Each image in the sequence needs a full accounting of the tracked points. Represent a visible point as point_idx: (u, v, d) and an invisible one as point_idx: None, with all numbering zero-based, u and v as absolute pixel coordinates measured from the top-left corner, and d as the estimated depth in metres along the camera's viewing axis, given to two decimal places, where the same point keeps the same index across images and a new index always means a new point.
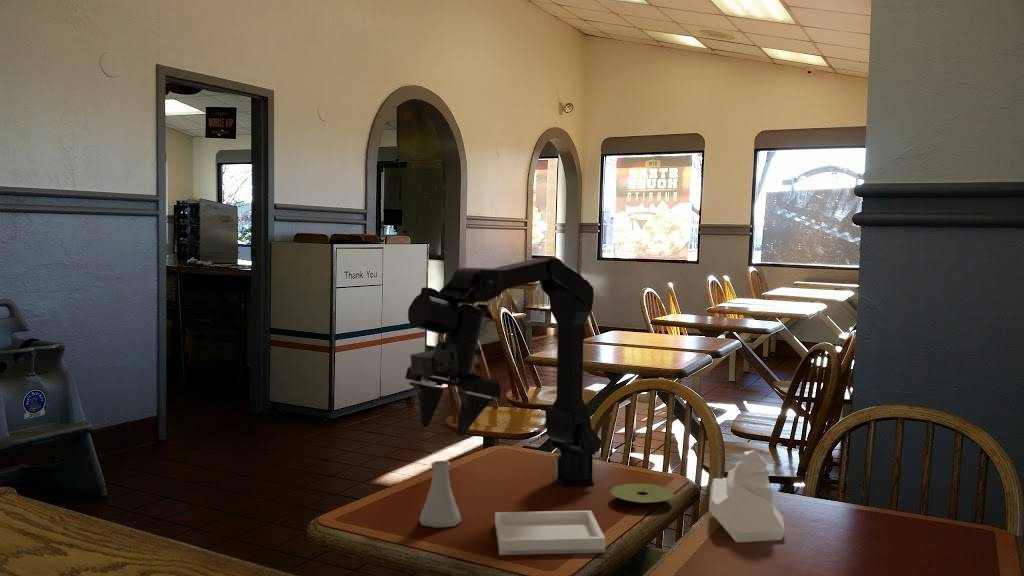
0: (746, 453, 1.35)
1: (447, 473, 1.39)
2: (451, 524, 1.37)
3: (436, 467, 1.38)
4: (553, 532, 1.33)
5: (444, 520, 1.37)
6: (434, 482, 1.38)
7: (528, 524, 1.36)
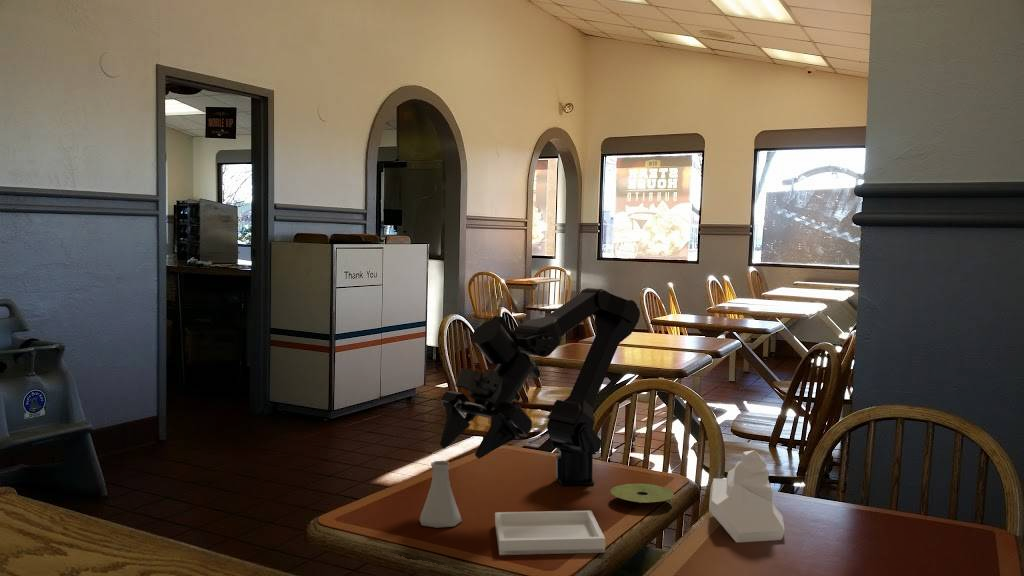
0: (746, 453, 1.35)
1: (447, 473, 1.39)
2: (451, 524, 1.37)
3: (436, 467, 1.38)
4: (553, 532, 1.33)
5: (444, 520, 1.37)
6: (434, 482, 1.38)
7: (528, 524, 1.36)
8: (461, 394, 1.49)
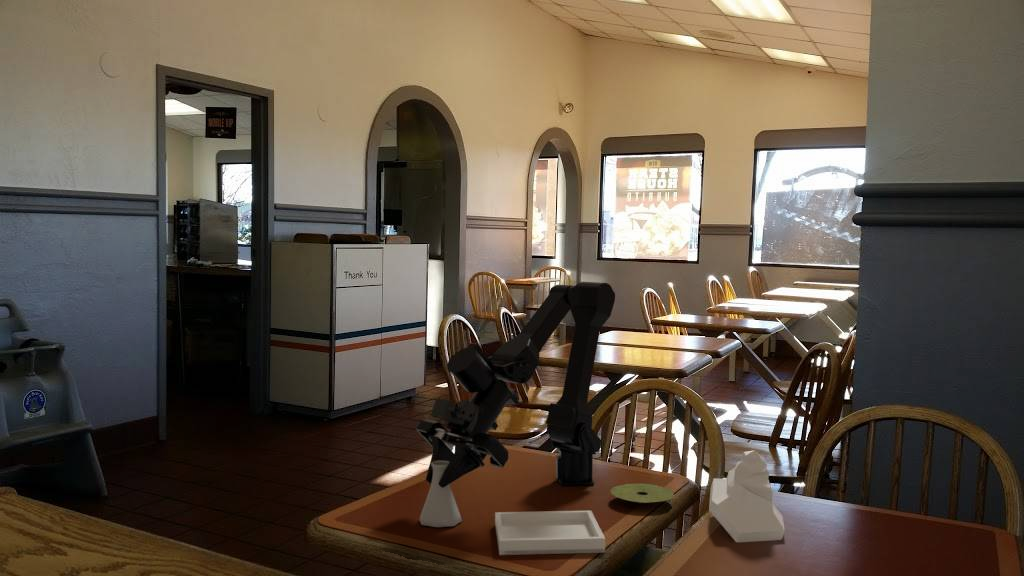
0: (746, 453, 1.35)
1: None
2: (451, 523, 1.37)
3: (436, 466, 1.38)
4: (553, 532, 1.33)
5: (444, 520, 1.37)
6: (434, 482, 1.38)
7: (528, 524, 1.36)
8: (437, 423, 1.45)
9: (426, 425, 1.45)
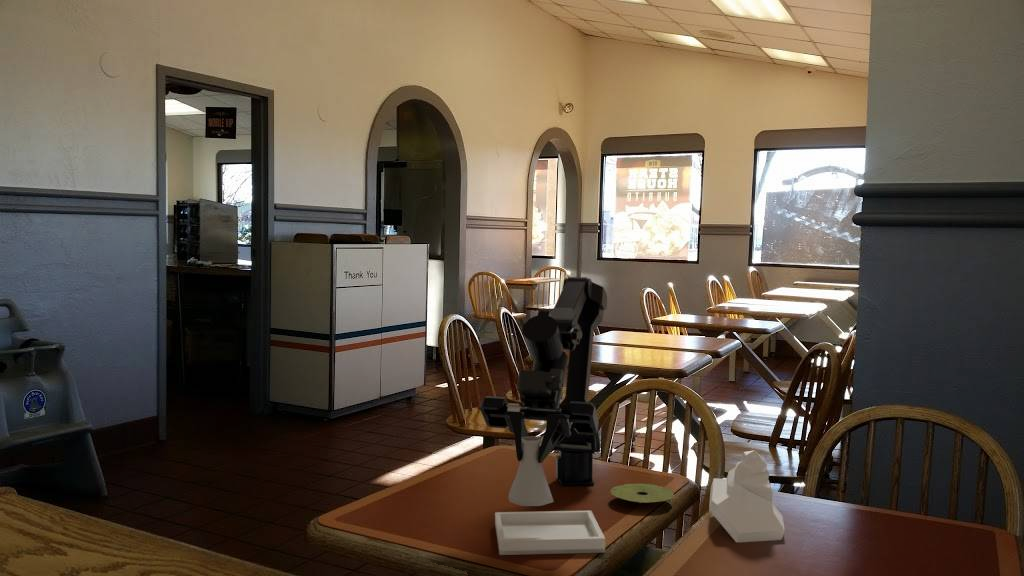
0: (746, 453, 1.35)
1: None
2: (550, 500, 1.30)
3: (532, 442, 1.30)
4: (553, 532, 1.33)
5: (545, 497, 1.29)
6: (529, 459, 1.30)
7: (528, 524, 1.36)
8: (505, 398, 1.36)
9: (495, 402, 1.35)
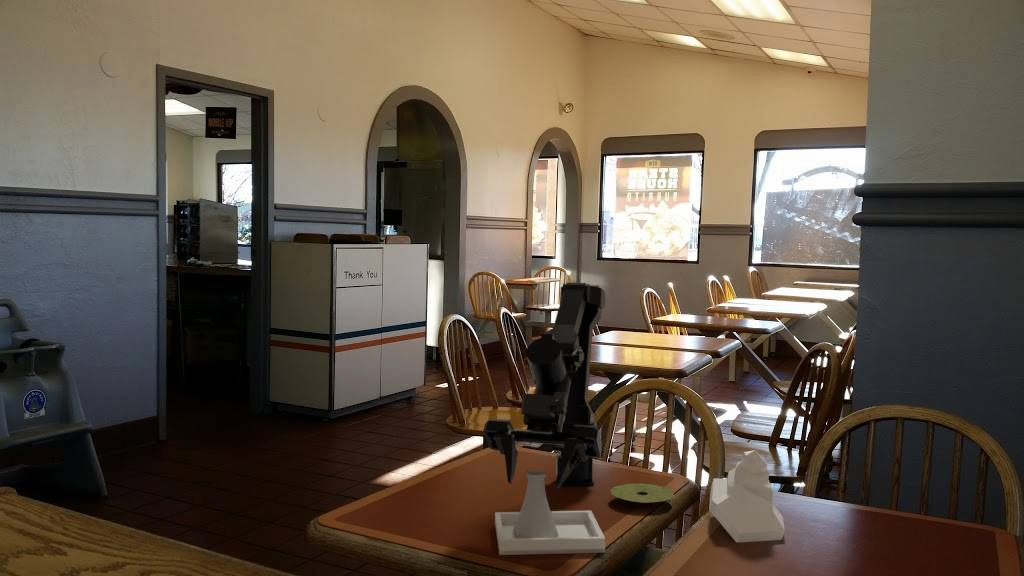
0: (746, 453, 1.35)
1: (543, 482, 1.31)
2: (555, 534, 1.30)
3: (537, 477, 1.30)
4: None
5: (550, 531, 1.29)
6: (534, 493, 1.30)
7: None
8: (508, 421, 1.36)
9: (498, 425, 1.35)
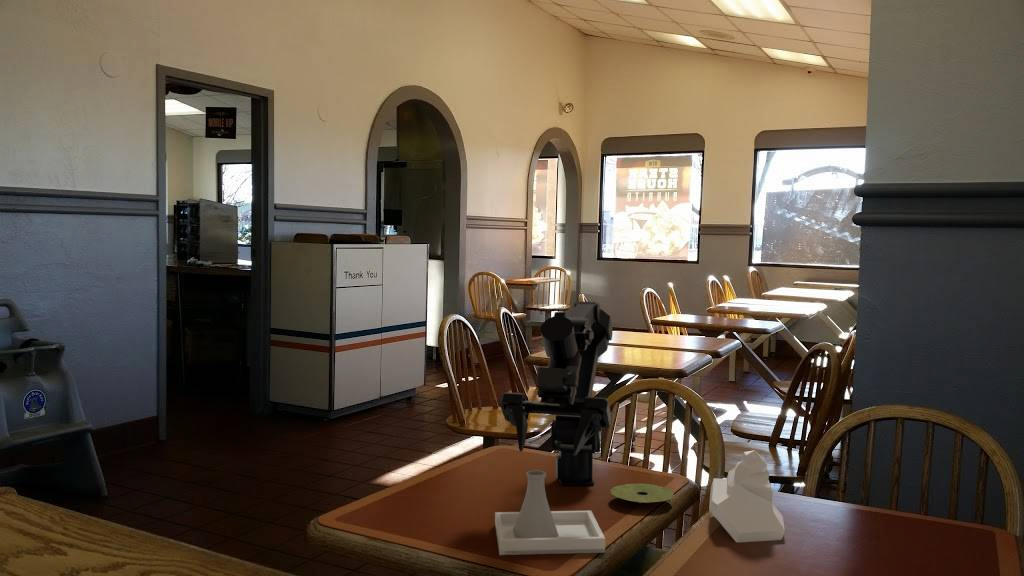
0: (746, 453, 1.35)
1: None
2: (555, 534, 1.30)
3: (537, 477, 1.30)
4: None
5: (550, 531, 1.29)
6: (534, 493, 1.30)
7: None
8: (523, 394, 1.45)
9: (514, 397, 1.44)
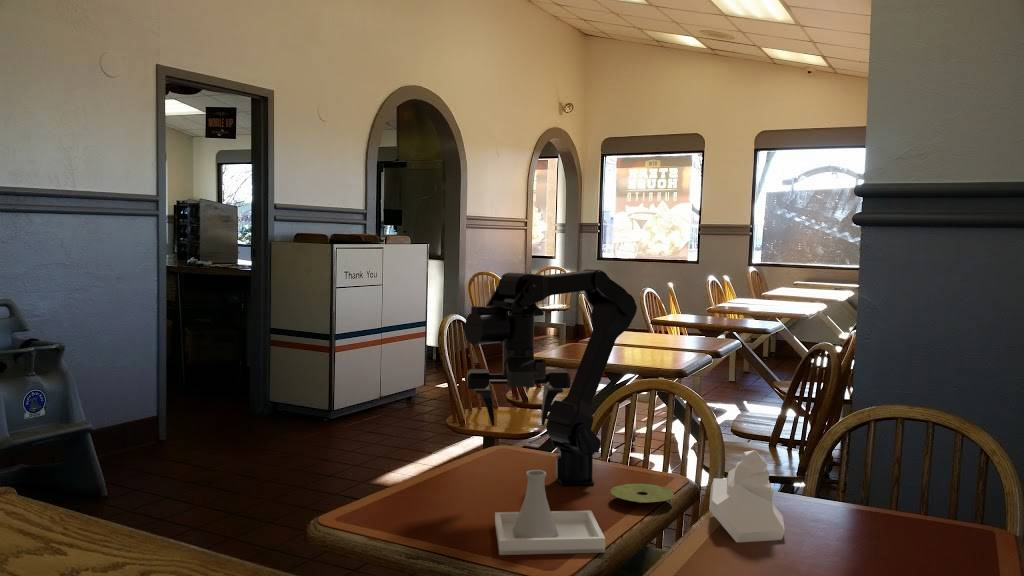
0: (746, 453, 1.35)
1: None
2: (555, 534, 1.30)
3: (537, 477, 1.30)
4: None
5: (550, 531, 1.29)
6: (534, 493, 1.30)
7: None
8: (488, 375, 1.50)
9: (481, 382, 1.50)
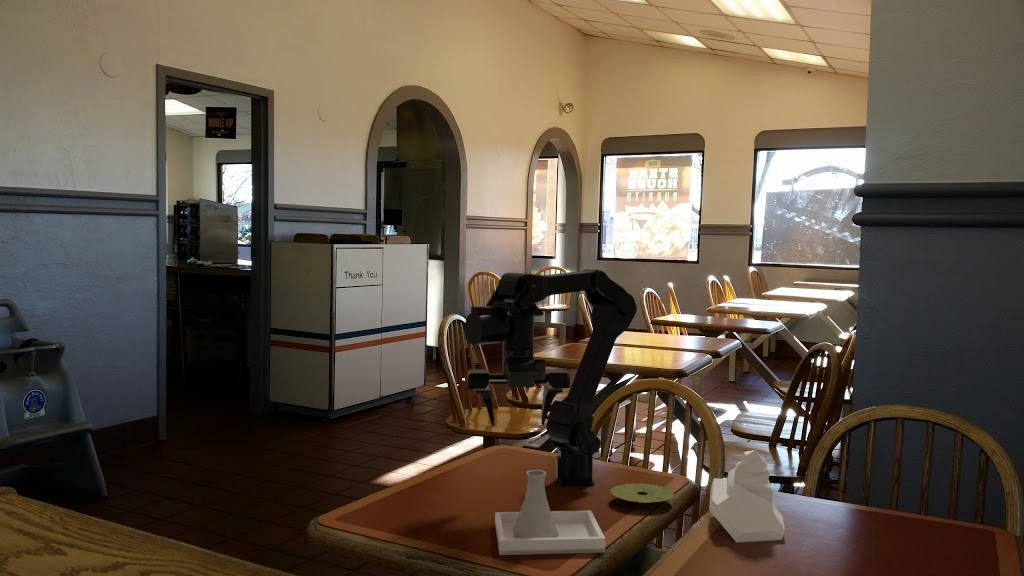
0: (746, 453, 1.35)
1: None
2: (555, 534, 1.30)
3: (537, 477, 1.30)
4: None
5: (550, 531, 1.29)
6: (534, 493, 1.30)
7: None
8: (488, 375, 1.50)
9: (481, 383, 1.50)
